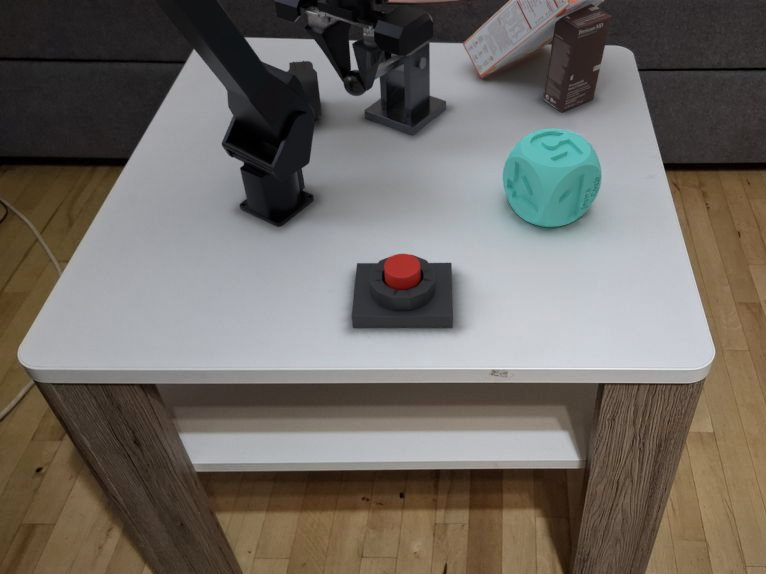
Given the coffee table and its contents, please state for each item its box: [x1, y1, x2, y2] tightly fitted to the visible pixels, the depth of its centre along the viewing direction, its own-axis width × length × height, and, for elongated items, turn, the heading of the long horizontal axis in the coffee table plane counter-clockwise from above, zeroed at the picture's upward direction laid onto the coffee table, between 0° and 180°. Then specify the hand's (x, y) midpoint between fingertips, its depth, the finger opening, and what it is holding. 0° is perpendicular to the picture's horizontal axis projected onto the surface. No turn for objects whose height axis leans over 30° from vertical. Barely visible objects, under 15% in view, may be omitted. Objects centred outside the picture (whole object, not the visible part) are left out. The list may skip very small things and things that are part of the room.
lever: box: [343, 53, 404, 97], centre depth 93 cm, size 13×3×3 cm, turn 145°
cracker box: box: [462, 0, 605, 79], centre depth 102 cm, size 14×6×21 cm
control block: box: [351, 254, 454, 329], centre depth 77 cm, size 10×8×4 cm
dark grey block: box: [286, 60, 323, 120], centre depth 100 cm, size 10×7×7 cm
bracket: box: [363, 40, 447, 137], centre depth 99 cm, size 8×8×10 cm
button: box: [384, 253, 421, 290], centre depth 75 cm, size 4×4×2 cm
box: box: [542, 4, 613, 113], centre depth 99 cm, size 6×4×12 cm
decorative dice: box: [502, 128, 602, 228], centre depth 85 cm, size 8×8×8 cm
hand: (357, 85), depth 91 cm, fingers closed on lever, 3 cm apart
